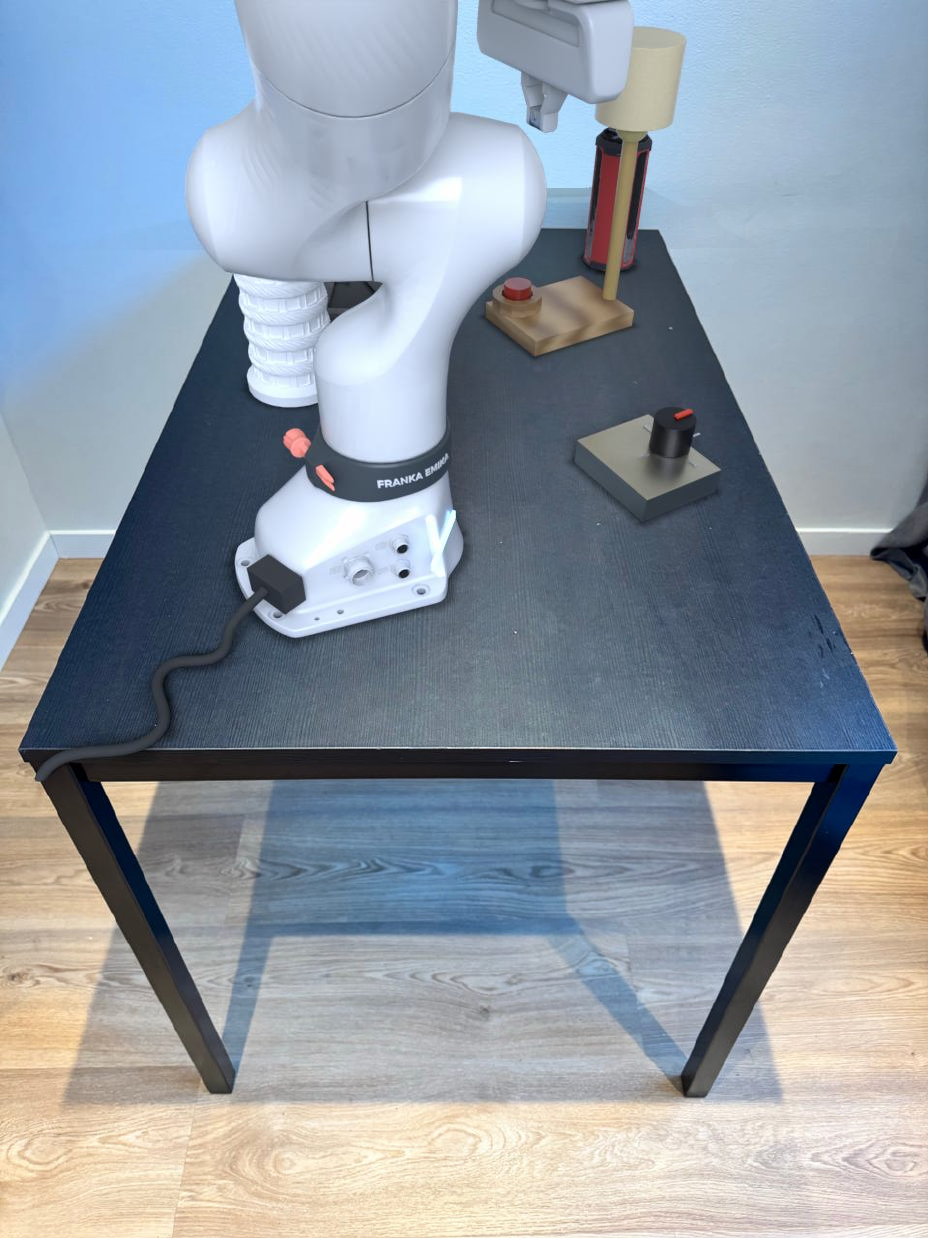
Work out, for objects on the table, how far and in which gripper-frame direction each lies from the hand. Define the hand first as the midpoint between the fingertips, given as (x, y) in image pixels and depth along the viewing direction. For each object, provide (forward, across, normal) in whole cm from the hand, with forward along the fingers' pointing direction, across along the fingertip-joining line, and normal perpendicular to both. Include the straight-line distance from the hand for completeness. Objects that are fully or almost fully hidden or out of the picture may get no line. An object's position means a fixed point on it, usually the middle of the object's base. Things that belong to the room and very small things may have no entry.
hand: (541, 127), depth 87 cm
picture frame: (+29, -31, -4) cm, 43 cm away
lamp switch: (+26, -14, +8) cm, 30 cm away
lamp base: (+29, -11, +13) cm, 34 cm away
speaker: (+29, -22, +30) cm, 47 cm away
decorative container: (+29, -15, -24) cm, 41 cm away
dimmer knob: (+26, +22, +4) cm, 34 cm away
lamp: (+25, -7, +18) cm, 32 cm away
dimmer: (+29, +22, +2) cm, 37 cm away
